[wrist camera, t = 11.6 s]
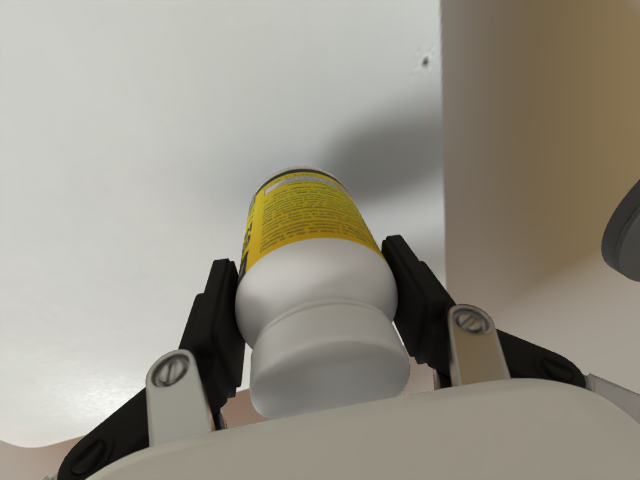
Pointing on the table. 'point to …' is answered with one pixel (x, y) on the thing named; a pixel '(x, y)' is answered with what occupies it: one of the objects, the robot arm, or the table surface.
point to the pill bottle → (315, 300)
